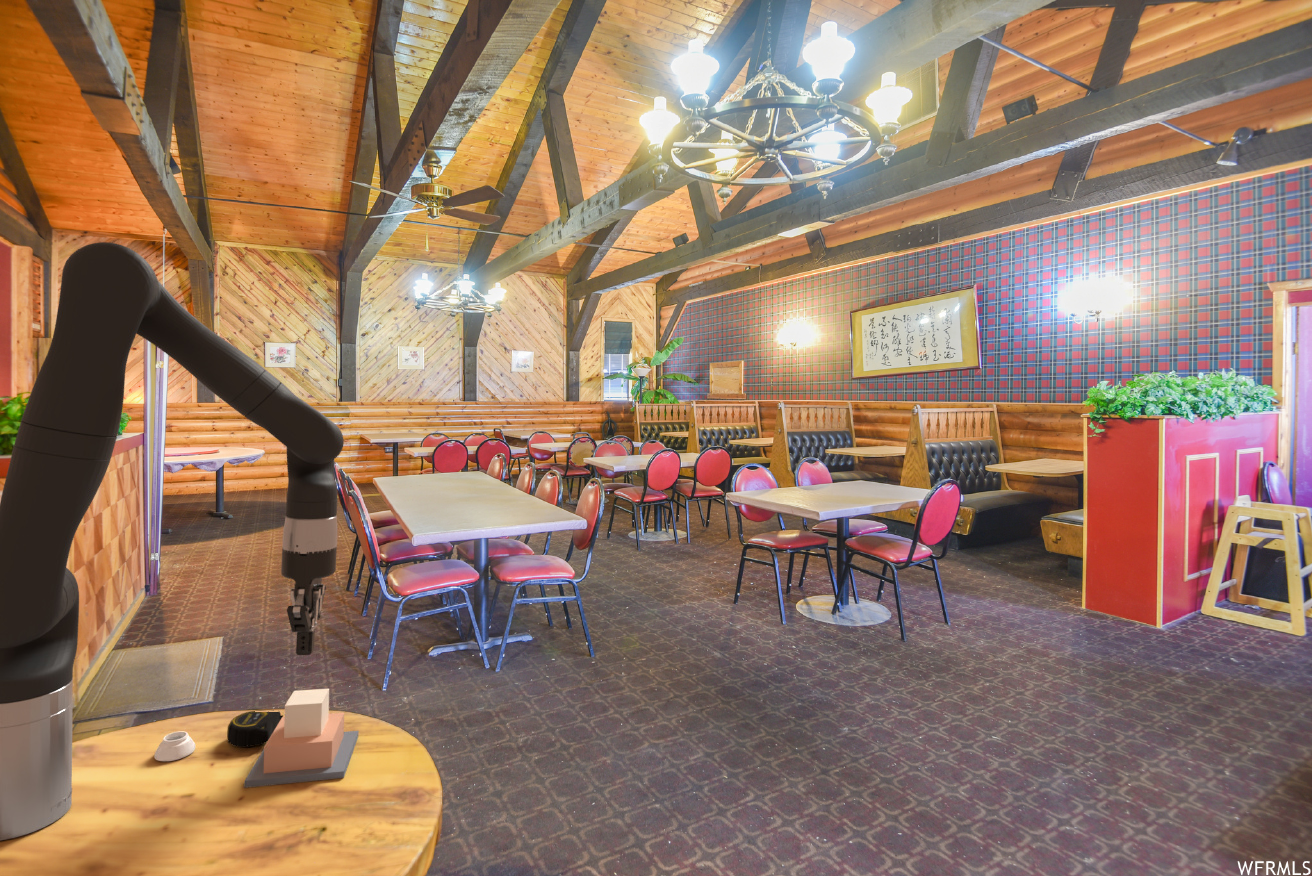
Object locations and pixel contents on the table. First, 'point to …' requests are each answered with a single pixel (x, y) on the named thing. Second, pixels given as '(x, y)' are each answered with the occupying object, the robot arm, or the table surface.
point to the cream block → (306, 713)
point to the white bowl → (174, 746)
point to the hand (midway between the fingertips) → (304, 653)
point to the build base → (305, 774)
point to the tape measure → (252, 728)
